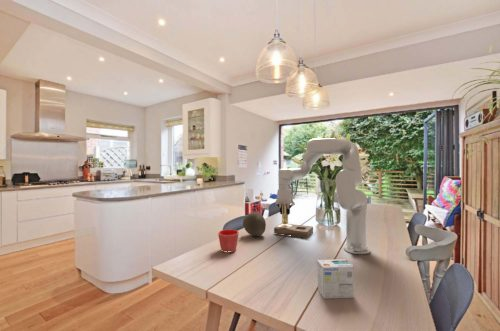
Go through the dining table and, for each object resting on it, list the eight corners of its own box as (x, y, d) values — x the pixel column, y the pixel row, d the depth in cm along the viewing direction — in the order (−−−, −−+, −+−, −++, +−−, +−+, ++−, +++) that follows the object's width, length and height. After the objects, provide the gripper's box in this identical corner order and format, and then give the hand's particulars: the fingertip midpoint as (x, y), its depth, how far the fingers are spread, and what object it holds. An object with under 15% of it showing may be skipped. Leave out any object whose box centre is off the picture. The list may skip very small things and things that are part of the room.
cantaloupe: (256, 231, 159) (255, 209, 159) (270, 236, 148) (270, 212, 148) (239, 236, 150) (239, 212, 150) (253, 241, 139) (253, 216, 139)
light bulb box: (346, 287, 85) (345, 258, 85) (354, 298, 78) (354, 266, 78) (316, 288, 84) (316, 259, 85) (323, 299, 78) (322, 267, 78)
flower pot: (241, 252, 122) (241, 233, 122) (221, 255, 118) (221, 236, 118) (235, 245, 132) (235, 228, 132) (216, 248, 128) (216, 230, 128)
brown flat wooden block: (307, 238, 142) (307, 231, 142) (274, 233, 153) (273, 227, 153) (313, 232, 155) (312, 226, 155) (281, 228, 165) (281, 222, 165)
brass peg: (288, 223, 158) (288, 202, 158) (286, 224, 154) (286, 203, 154) (283, 222, 159) (282, 201, 160) (281, 223, 156) (280, 202, 156)
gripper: (298, 186, 156) (298, 214, 156) (275, 186, 164) (275, 212, 164) (294, 187, 149) (295, 216, 149) (270, 187, 158) (271, 214, 158)
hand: (284, 214), depth 157 cm, fingers closed on brass peg, 4 cm apart
